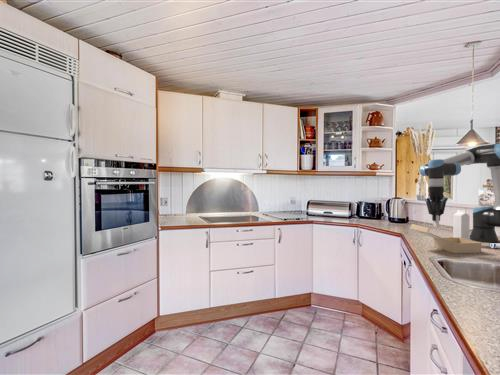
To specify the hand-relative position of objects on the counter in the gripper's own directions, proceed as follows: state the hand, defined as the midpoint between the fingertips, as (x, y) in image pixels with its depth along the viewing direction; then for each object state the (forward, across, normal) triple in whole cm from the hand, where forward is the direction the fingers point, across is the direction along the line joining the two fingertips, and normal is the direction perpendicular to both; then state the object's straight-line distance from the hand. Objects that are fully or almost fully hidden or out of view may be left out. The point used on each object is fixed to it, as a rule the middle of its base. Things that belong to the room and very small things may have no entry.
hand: (436, 226), depth 167 cm
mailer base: (+14, -12, 0) cm, 19 cm away
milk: (+15, -27, -14) cm, 34 cm away
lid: (+2, +2, 0) cm, 3 cm away
